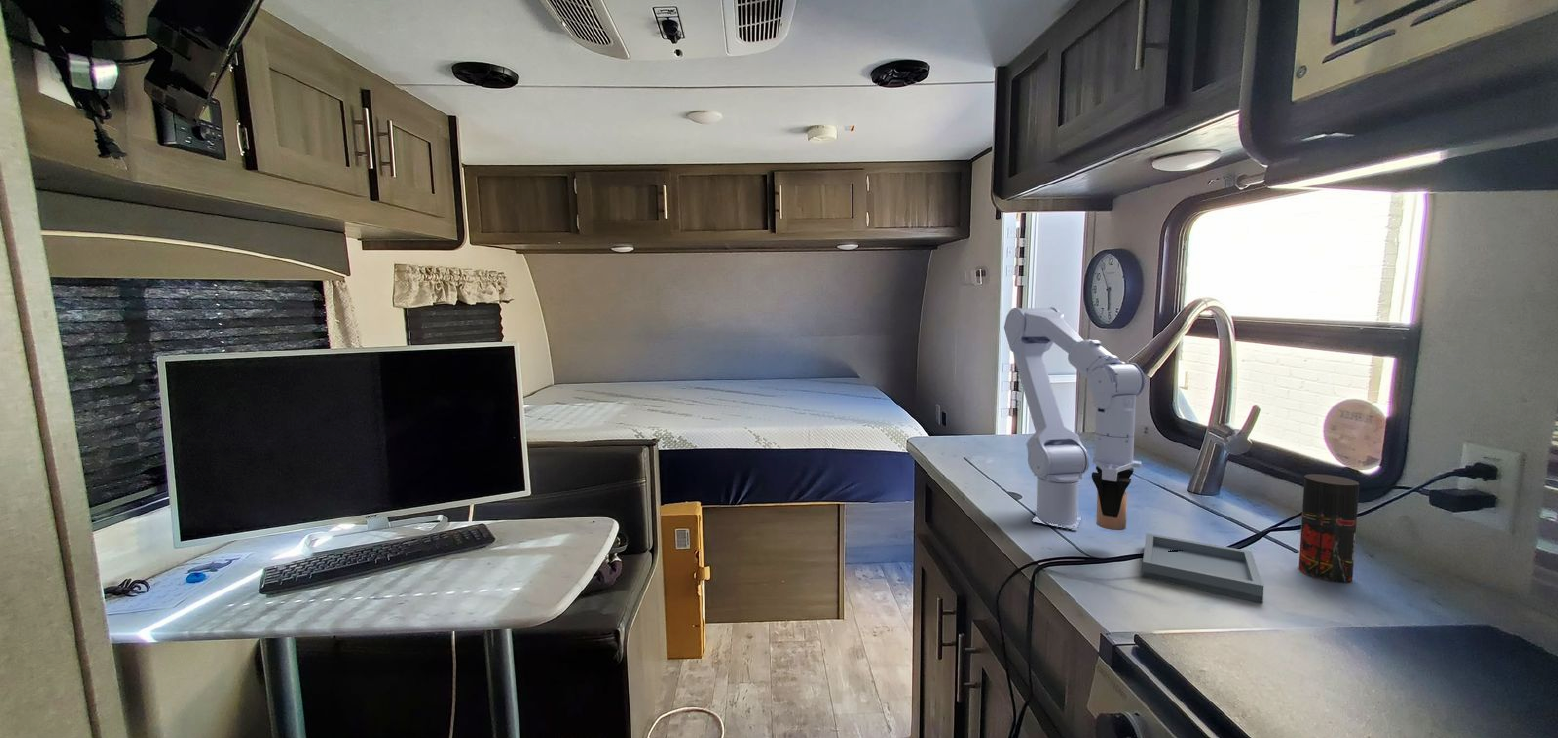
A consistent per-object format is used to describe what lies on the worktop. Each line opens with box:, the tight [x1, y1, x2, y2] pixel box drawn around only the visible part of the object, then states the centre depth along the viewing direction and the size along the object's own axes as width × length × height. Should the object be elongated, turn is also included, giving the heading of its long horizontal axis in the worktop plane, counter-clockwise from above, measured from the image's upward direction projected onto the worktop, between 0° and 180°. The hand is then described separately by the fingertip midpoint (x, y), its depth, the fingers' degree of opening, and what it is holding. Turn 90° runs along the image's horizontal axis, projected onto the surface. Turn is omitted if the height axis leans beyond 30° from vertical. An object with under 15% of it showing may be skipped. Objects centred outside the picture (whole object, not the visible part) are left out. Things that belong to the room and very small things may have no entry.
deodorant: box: [1297, 473, 1360, 584], centre depth 84 cm, size 6×6×15 cm
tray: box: [1142, 532, 1264, 604], centre depth 86 cm, size 14×14×2 cm
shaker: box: [1095, 489, 1128, 531], centre depth 94 cm, size 4×4×8 cm
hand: (1111, 511), depth 94 cm, fingers closed on shaker, 4 cm apart
